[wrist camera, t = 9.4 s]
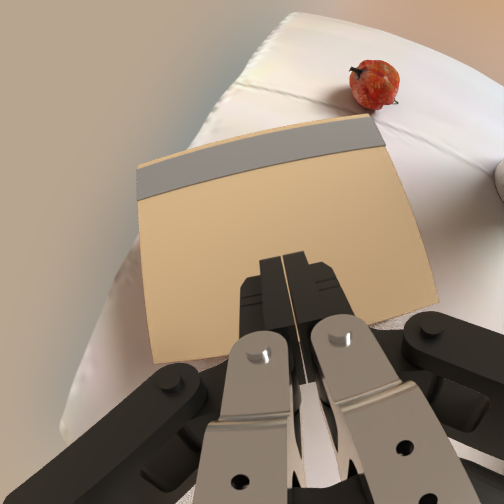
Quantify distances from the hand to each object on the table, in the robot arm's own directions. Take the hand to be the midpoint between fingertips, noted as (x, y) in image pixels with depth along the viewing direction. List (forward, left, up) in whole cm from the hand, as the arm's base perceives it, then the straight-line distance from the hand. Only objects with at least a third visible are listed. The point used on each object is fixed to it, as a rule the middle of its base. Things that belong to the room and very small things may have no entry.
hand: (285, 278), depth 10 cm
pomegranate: (-31, -10, -20) cm, 38 cm away
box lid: (-4, -5, -10) cm, 11 cm away
